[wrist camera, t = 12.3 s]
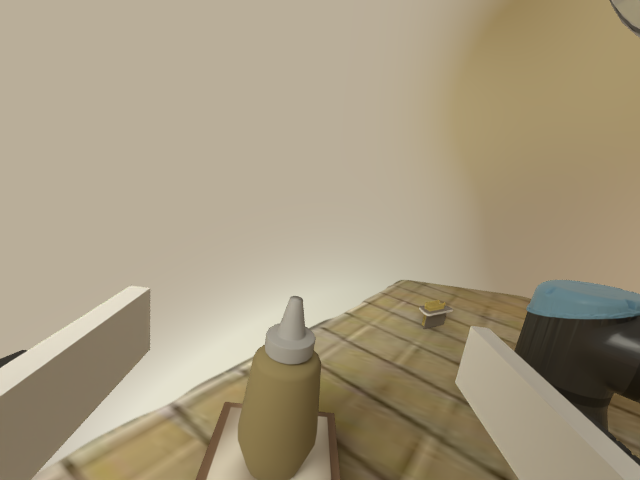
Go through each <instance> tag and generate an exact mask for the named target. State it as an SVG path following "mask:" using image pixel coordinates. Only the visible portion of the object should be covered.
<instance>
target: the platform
mask: <svg viewBox="0 0 640 480" xmlns="http://www.w3.org/2000/svg"><path fill="white" fill-rule="evenodd" d="M439 301H440V300H437V301H431V302H425V306H420V308H419V310H420V311H421V312H422V313H423V314H424V318H423V322H422V325H424V328H423V329H427V328H431V327H435V326H439V325H443V324H444V321H445V317H446V313H447V312H452V311H453V309H452V308H450V307H448V306H445V302H444V303H441V304H439ZM423 323H424V324H423Z"/></svg>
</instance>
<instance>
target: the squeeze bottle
mask: <svg viewBox="0 0 640 480" xmlns="http://www.w3.org/2000/svg"><path fill="white" fill-rule="evenodd" d="M314 344H315V336H314V333H313V332H312V331H311V330H310V329H309V328H307V327H305V322H304V310H303V299H302V298H301V297H298V296H293V297H291V298H290V300H289V302H288V305H287V307H286V310H285V313H284V316H283V318H282V321H281V323H280V324H276V325H274V326H272V327H270V328H269V330H268V331H267V333H266V341H265V345H263V346H262V347H260V348H259V349H258V350H257V352H256V354H255V355H254V357H253V362H252V366H251V370H250V375H249V379H248V384H247V388H246V392H245V397H244V401H243V405H242V410H241V414H240V418H239V423H238V442H239V445H240V448H241V451H242V454H243V457H244V461H245V464H246V466H247V468H248V470H249V472H250V474H251V475H252V476H253V477H254V478H256V479H257V480H289V479H291V478H292V477H294V475H295V474H296V473H297V471H298V470H299V468H300V467H301V465H302V464H303V462H304V461H305V459H306V458H307V456H308V455H309V453H310V451H311V450H312V448H313V447H314V445H315V441H316V435H317V424H318V407H319V390H320V372H321V361H320V359H319V356H318V354H317V353H316V352H315V351H314Z"/></svg>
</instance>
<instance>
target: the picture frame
mask: <svg viewBox="0 0 640 480" xmlns="http://www.w3.org/2000/svg"><path fill="white" fill-rule="evenodd" d="M242 405H243V404H240V403H230V402H225V403H224V406H223V409H222V411H221V414H220V417H219V419H218V422H217V425H216V427H215V430H214V432H213V435H212V438H211V440H210V443H209V446H208V448H207V451H206V454H205V456H204V459H203V462H202V464H201V467H200V470H199V472H198V475H197V478H196V480H257V479H256V478H254V477H253V476H252V475H251V474H250V472H249V470H248V468H247V466H246V464H245V461H244V457H243V454H242V451H241V448H240V445H239V442H238V423H239V418H240V414H241V410H242ZM289 480H340V471H339V460H338V449H337V439H336V428H335V418H334V413H326V412H318V424H317V435H316V441H315V445H314V447H313V448H312V450H311V451H310V453H309V455H308V456H307V458H306V459H305V461H304V462H303V464H302V465H301V467H300V468H299V470H298V471H297V473H296V474H295V475H294V477H292V478H291V479H289Z"/></svg>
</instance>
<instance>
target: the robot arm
mask: <svg viewBox="0 0 640 480" xmlns="http://www.w3.org/2000/svg"><path fill="white" fill-rule="evenodd" d="M610 2H611V5H612V7H613V8H614V10H615V12H616V13H617V14H618V16H619V18H620V20H621V21H622V23H623V24H624V25H625V26H627V27H628V28H629V29H630V30H631V31H632V32H633V33H635V34H636V35H637V36H638V37H640V0H610ZM527 310H528V312H527V315H526V318H525V321H524V324H523V327H522V330H521V333H520V336H519V339H518V342H517V345H516V348H515V351H513V350H512V349H511V348H510V347H509V346H508V345H507V344H505V343H504V342H503V341H502V340H501V339H500V338H499V337H498V336H497V335H496V334H495V333H493V332H492V331H491V330H490V329H489V328H484V327H475V326H471V327H470V331H469V335H468V338H467V342H466V345H465V349H464V353H463V356H462V360H461V363H460V367H459V370H458V374H457V378H456V381H455V383H456V385H457V386H458V388H459V389H460V391H461V392H462V394H463V395H464V397H465V398H466V400H467V401H468V403H469V405H470V406H471V408H472V409H473V411H474V412H475V414H476V415H477V417H478V418H479V420H480V421H481V423H482V424H483V426H484V427H485V429H486V430H487V432H488V433H489V435H490V436H491V438H492V439H493V441H494V443H495V444H496V446H497V447H498V449H499V450H500V452H501V453H502V455H503V456H504V458H505V459H506V461H507V462H508V464H509V465H510V467H511V468H512V470H513V471H514V473H515V474H516V476H517V477H518V479H519V480H640V459H639V458H638V457H637V456H635V455H632V454H631V451H630V450H629V449H628V448H626V447H625V446H624V445H623V444H622V443H621V442H620V441H616V438H615V437H614V436H613V435H612V434H611V433H610V432H608V420H607V408H608V405H609V403H610V400H611V398H612V395H613V394H614V393H616V394H619V395H621V396H624V397H626V398H628V399H631V400H633V401H636V402H638V403H640V294H637V293H634V292H629V291H625V290H622V289H619V288H615V287H610V286H605V285H599V284H594V283H587V282H580V281H570V280H550V281H546V282H543V283H541V284H540V285H538V287H537V288H536V290H535V292H534V295H533V297H532V300H531V302H530V304H529V305H528V306H527ZM149 350H150V288H144V287H136V286H129V287H128V288H126V289H125V290H123V291H121V292H120V293H118V294H117V295H115V296H113V297H112V298H110V299H109V300H107V301H106V302H104V303H102V304H101V305H99V306H98V307H96V308H94V309H93V310H91V311H90V312H88V313H87V314H85V315H84V316H82V317H80V318H79V319H77V320H75V321H74V322H72V323H71V324H69V325H68V326H66V327H64V328H63V329H61V330H60V331H58V332H56V333H55V334H53V335H52V336H50V337H49V338H47V339H45V340H44V341H42V342H41V343H39V344H37V345H36V346H34V347H33V348H31V349H30V350H28V351H27V350H21V351H19V352H16V353H14V354H12V355H9V356H6V357H4V358H2V359H0V480H31V479H32V478H33V477H34V475H35V474H36V473H37V472H38V471H39V470H40V469H41V468H42V467H43V466H44V465H45V463H46V462H47V461H48V460H49V459H50V458H51V457H52V456H53V455H54V454H55V452H56V451H57V450H58V449H59V448H60V447H61V446H62V445H63V444H64V443H65V441H66V440H67V439H68V438H69V437H70V436H71V435H72V434H73V433H74V432H75V431H76V429H77V428H78V427H79V426H80V425H81V424H82V423H83V422H84V421H85V419H87V418H88V416H89V415H90V414H91V413H92V412H93V411H94V410H95V409H96V408H97V406H98V405H99V404H100V403H101V402H102V401H103V400H104V399H105V398H106V397H107V396H108V395H109V393H110V392H111V391H112V390H113V389H114V388H115V387H116V386H117V385H118V384H119V382H120V381H121V380H122V379H123V378H124V377H125V376H126V375H127V374H128V373H129V372H130V370H132V368H133V367H134V366H135V365H136V364H137V363H138V362H139V361H140V360H141V358H142V357H143V356H144V355H145V354H146V353H147V352H148V351H149Z"/></svg>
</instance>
